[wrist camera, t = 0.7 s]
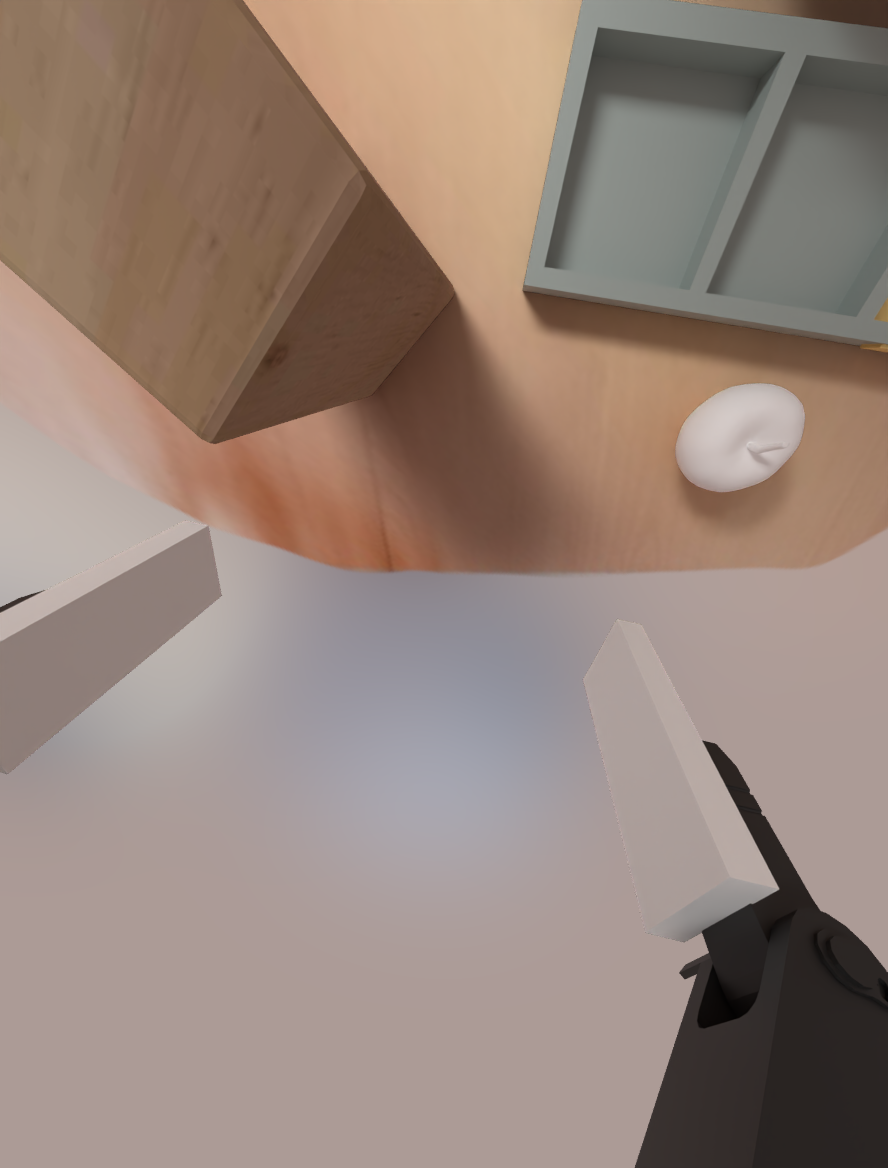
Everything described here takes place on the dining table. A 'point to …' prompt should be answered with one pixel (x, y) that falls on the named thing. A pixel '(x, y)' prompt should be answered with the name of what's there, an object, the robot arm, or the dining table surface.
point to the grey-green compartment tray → (721, 170)
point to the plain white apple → (740, 436)
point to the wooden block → (201, 212)
